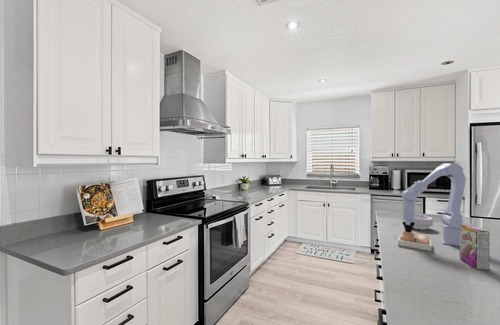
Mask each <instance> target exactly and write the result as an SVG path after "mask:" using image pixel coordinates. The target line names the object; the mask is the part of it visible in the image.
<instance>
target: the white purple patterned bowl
mask: <svg viewBox="0 0 500 325" xmlns="http://www.w3.org/2000/svg"><path fill="white" fill-rule="evenodd" d="M433 221H434V220H433V217H431V216H428V215H424V214H423V215H422V214H415V221H414V223H415V224H414V226H413V228H414V229H413V228H412V229H413V230H418V229H420V230H421V231H427V230H429V228H430V227H433V226H434V225H433V224H434V222H433ZM426 229H427V230H426Z"/></svg>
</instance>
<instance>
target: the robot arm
mask: <svg viewBox="0 0 500 325" xmlns="http://www.w3.org/2000/svg"><path fill="white" fill-rule="evenodd" d="M443 176H446V177H448V178H449V179H450V180H451V181H452V182H451V187H450V192H449V196H448V202H447V208H446V209H445V210H444V211H443V214H442V215H441V217H440V220H441V222H442V229H443V230H442V239H441V242H442V244H444V245H451V246H457V247H460V224H464V221H463V214H462V212H461V208H462V202H463V197H464V196H463V195H464V191H465V187H466V181H467V178H466V175H465V172H464V168H463V166H462V165H460V164H459V163H456V162H454V163H453V162H452V163H450V162H449V163H448V162H445V163H444V162H443V163H442V164H440V165H439V166H437V167H436V168H435V169H434V170H433V171H432V172H431V173H430V174H428V175H427V176H426V177H425V178H424V179H422V180H417V181H414V182H413V184H412V185H411V186H410V187H407V189H405V190H403V191H402V192H401V194H400V196H401V198H402V217H400V218H399V219H400V220H401V221H402V225H403V228H404V230H405V232H412V231H413V226H414V224H415V223H414V221H415V215H416V214H415V213H416V212H415V210H416V209H415V205H416V204H415V201H416V200H417V198H418V196H419V195H420V194H422V193H423V192H424V191H425V190H427V189H428V185H429V184H431V183H432V182H434V181H436V180H437V179H438V178H440V177H443ZM412 233H413V232H412Z"/></svg>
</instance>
